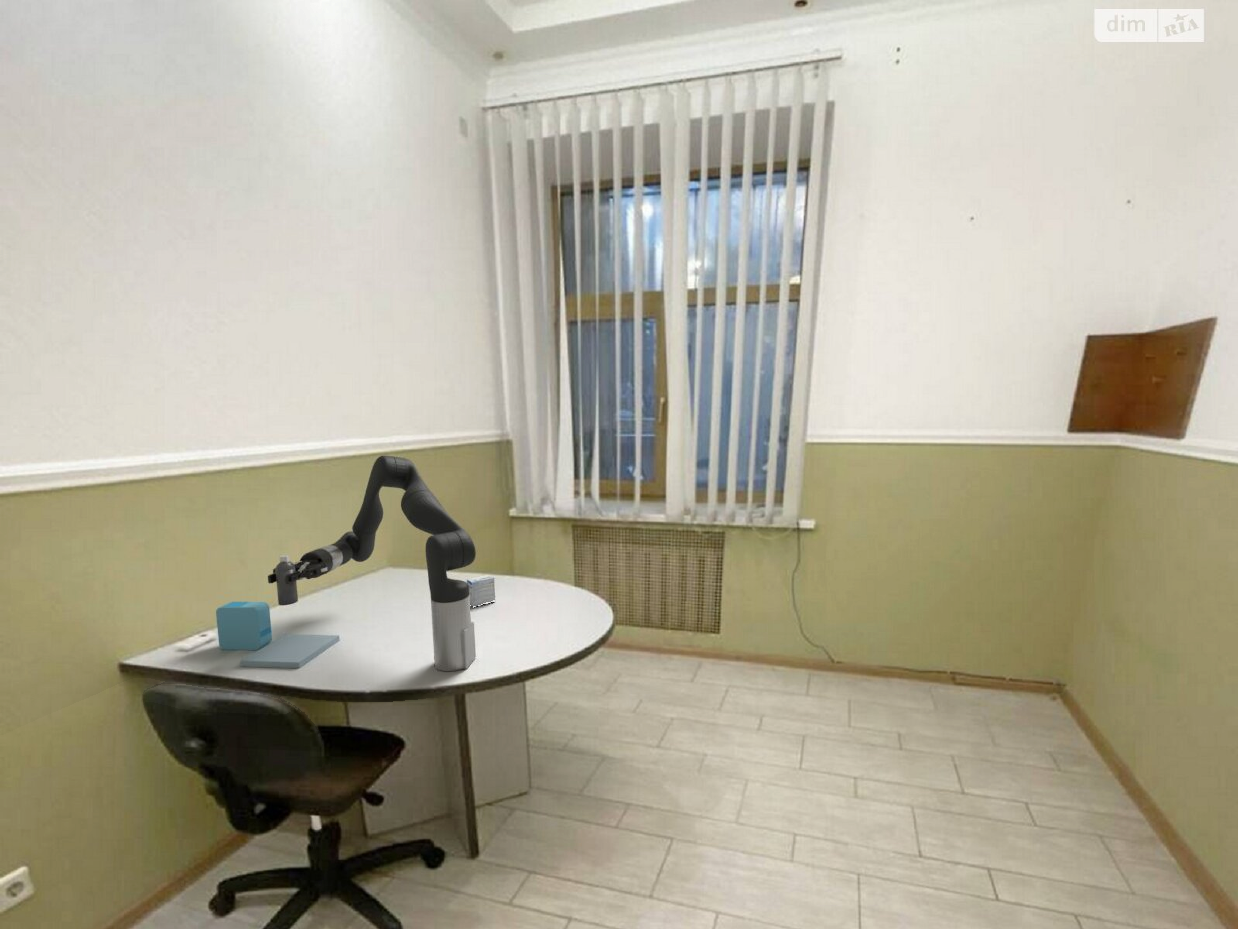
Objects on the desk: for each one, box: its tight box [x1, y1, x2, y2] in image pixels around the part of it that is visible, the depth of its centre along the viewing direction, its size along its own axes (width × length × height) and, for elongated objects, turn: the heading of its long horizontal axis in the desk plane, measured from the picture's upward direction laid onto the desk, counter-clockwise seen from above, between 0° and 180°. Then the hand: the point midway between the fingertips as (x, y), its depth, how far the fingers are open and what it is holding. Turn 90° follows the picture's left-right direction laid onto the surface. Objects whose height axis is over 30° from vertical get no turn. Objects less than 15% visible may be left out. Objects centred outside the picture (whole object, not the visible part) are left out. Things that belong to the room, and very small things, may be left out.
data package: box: [215, 601, 273, 651], centre depth 145 cm, size 12×4×12 cm, turn 86°
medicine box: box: [466, 574, 496, 607], centre depth 174 cm, size 8×4×9 cm, turn 130°
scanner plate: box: [239, 633, 340, 669], centre depth 141 cm, size 16×16×2 cm
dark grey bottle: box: [275, 555, 299, 606], centre depth 139 cm, size 4×4×12 cm
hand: (278, 579), depth 136 cm, fingers closed on dark grey bottle, 4 cm apart
